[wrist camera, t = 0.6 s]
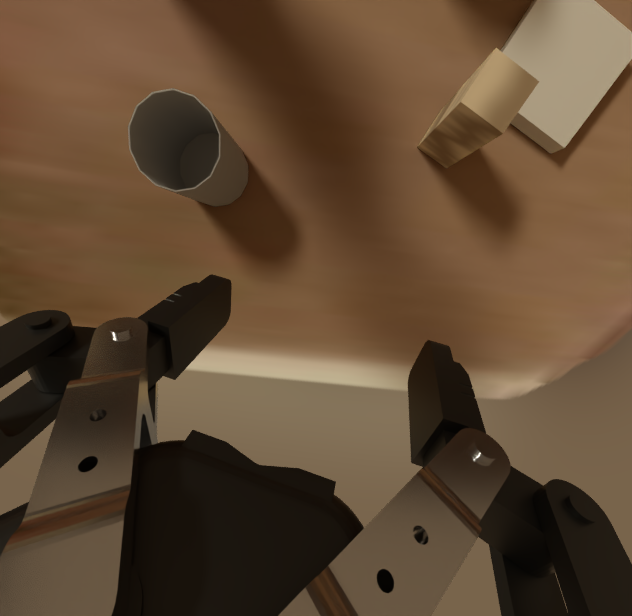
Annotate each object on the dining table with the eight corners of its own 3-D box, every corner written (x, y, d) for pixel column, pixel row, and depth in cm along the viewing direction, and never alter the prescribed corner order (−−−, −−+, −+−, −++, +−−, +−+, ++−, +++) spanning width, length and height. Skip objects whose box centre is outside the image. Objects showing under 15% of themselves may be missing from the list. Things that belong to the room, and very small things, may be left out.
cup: (262, 169, 35) (239, 140, 25) (220, 220, 36) (183, 210, 27) (209, 118, 34) (164, 65, 24) (168, 172, 35) (109, 143, 26)
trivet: (471, 94, 33) (481, 84, 31) (542, -13, 31) (557, -31, 29) (550, 153, 34) (564, 148, 32) (624, 55, 32) (643, 42, 30)
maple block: (416, 147, 34) (460, 101, 24) (439, 111, 33) (496, 47, 23) (446, 168, 35) (503, 133, 24) (470, 134, 34) (539, 81, 23)
